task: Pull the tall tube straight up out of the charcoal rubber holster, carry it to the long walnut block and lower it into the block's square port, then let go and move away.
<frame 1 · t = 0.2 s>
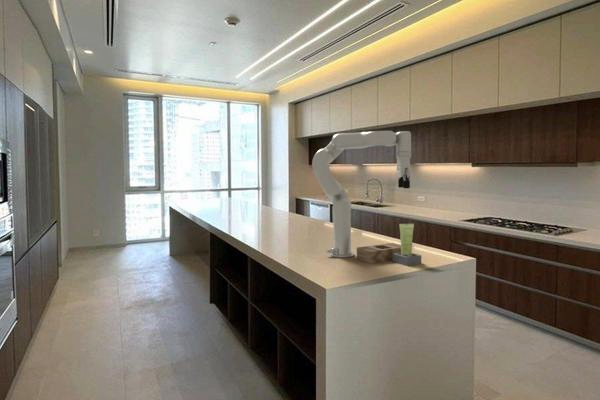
hand: (403, 187, 198), 37 cm above the countertop, tool pointing down, fingers open, 9 cm apart
holster: (406, 262, 189), on the countertop
port block: (382, 258, 198), on the countertop
tube: (406, 262, 189), resting in holster
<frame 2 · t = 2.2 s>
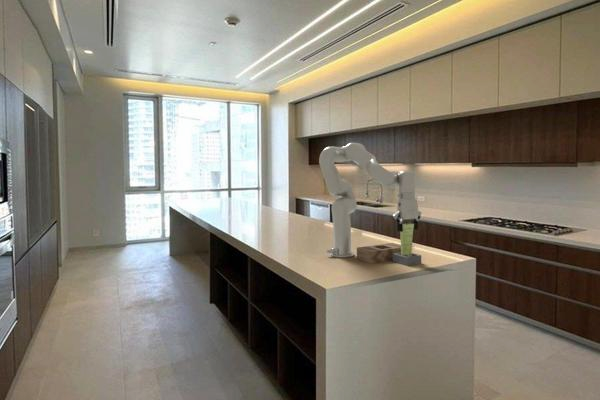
hand: (407, 230, 187), 16 cm above the countertop, tool pointing down, fingers open, 9 cm apart
nothing on the countertop moved.
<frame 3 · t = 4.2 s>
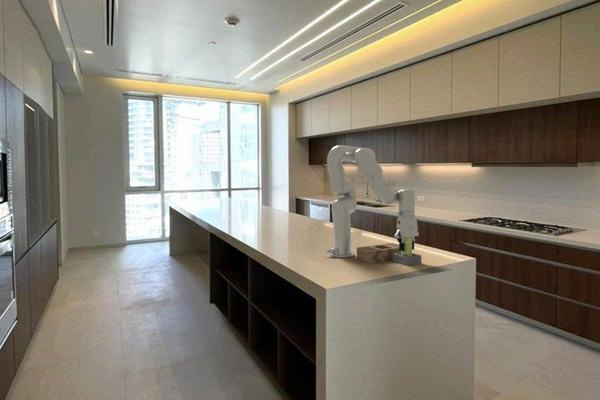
hand: (406, 249, 188), 6 cm above the countertop, tool pointing down, fingers closed on tube, 5 cm apart
tube: (406, 262, 189), resting in holster, touching gripper
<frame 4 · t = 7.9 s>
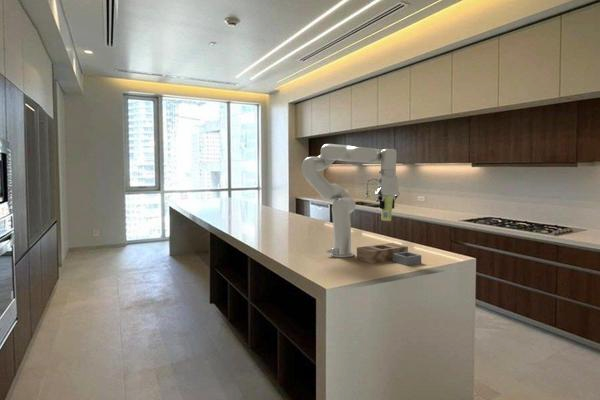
hand: (386, 208, 194), 27 cm above the countertop, tool pointing down, fingers closed on tube, 5 cm apart
tube: (386, 220, 195), point 20 cm above the countertop, touching gripper
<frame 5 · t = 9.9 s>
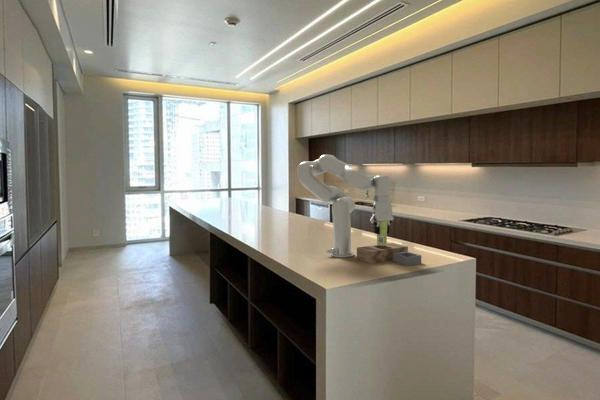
hand: (382, 233, 197), 13 cm above the countertop, tool pointing down, fingers closed on tube, 5 cm apart
tube: (382, 245, 198), point 7 cm above the countertop, touching gripper
when the fingers open (8 cm above the countertop, at t = 11.6 s): tube drops 1 cm, resting in port block.
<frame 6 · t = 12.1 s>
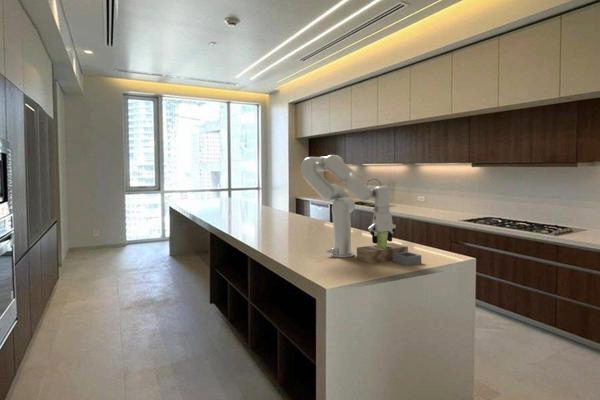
hand: (382, 242, 198), 9 cm above the countertop, tool pointing down, fingers open, 9 cm apart
tube: (382, 258, 198), resting in port block
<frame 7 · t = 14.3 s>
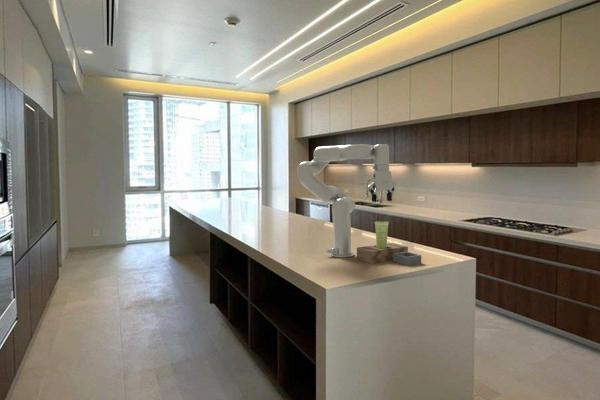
hand: (381, 201, 196), 30 cm above the countertop, tool pointing down, fingers open, 9 cm apart
nothing on the countertop moved.
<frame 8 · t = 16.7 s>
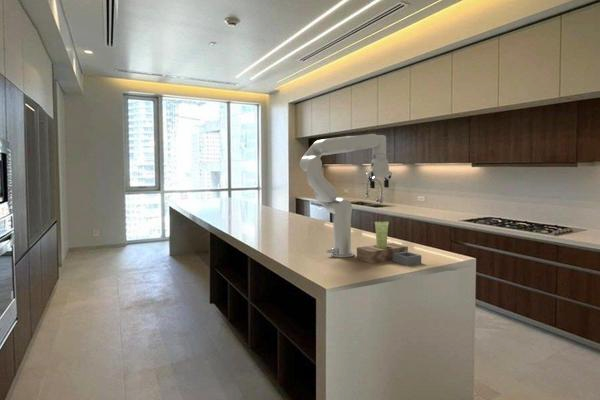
hand: (379, 187, 213), 36 cm above the countertop, tool pointing down, fingers open, 9 cm apart
nothing on the countertop moved.
at the end: tube 0.2 cm off-centre on the port block, point 0.0 cm above the port block's base; tube tilted 0°; the gripper is holding nothing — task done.
